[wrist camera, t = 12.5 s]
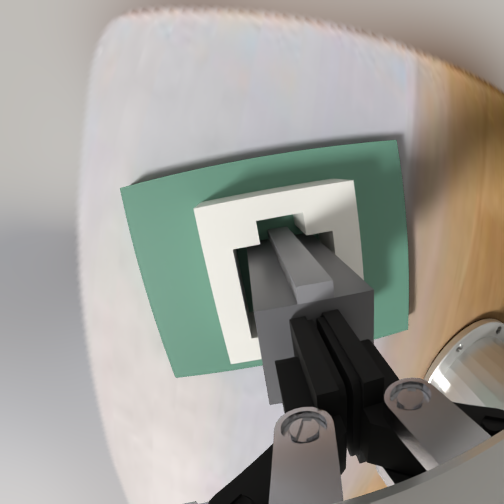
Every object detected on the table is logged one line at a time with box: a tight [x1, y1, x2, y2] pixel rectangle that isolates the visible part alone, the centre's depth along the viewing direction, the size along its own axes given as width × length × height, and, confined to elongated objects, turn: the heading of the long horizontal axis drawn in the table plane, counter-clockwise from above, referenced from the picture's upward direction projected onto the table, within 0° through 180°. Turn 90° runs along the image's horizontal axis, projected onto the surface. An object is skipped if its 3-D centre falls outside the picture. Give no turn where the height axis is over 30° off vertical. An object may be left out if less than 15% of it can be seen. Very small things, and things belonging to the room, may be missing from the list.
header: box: [194, 178, 364, 364], centre depth 18 cm, size 8×9×4 cm
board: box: [120, 140, 409, 378], centre depth 21 cm, size 18×14×2 cm
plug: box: [247, 226, 374, 405], centre depth 15 cm, size 4×5×10 cm
